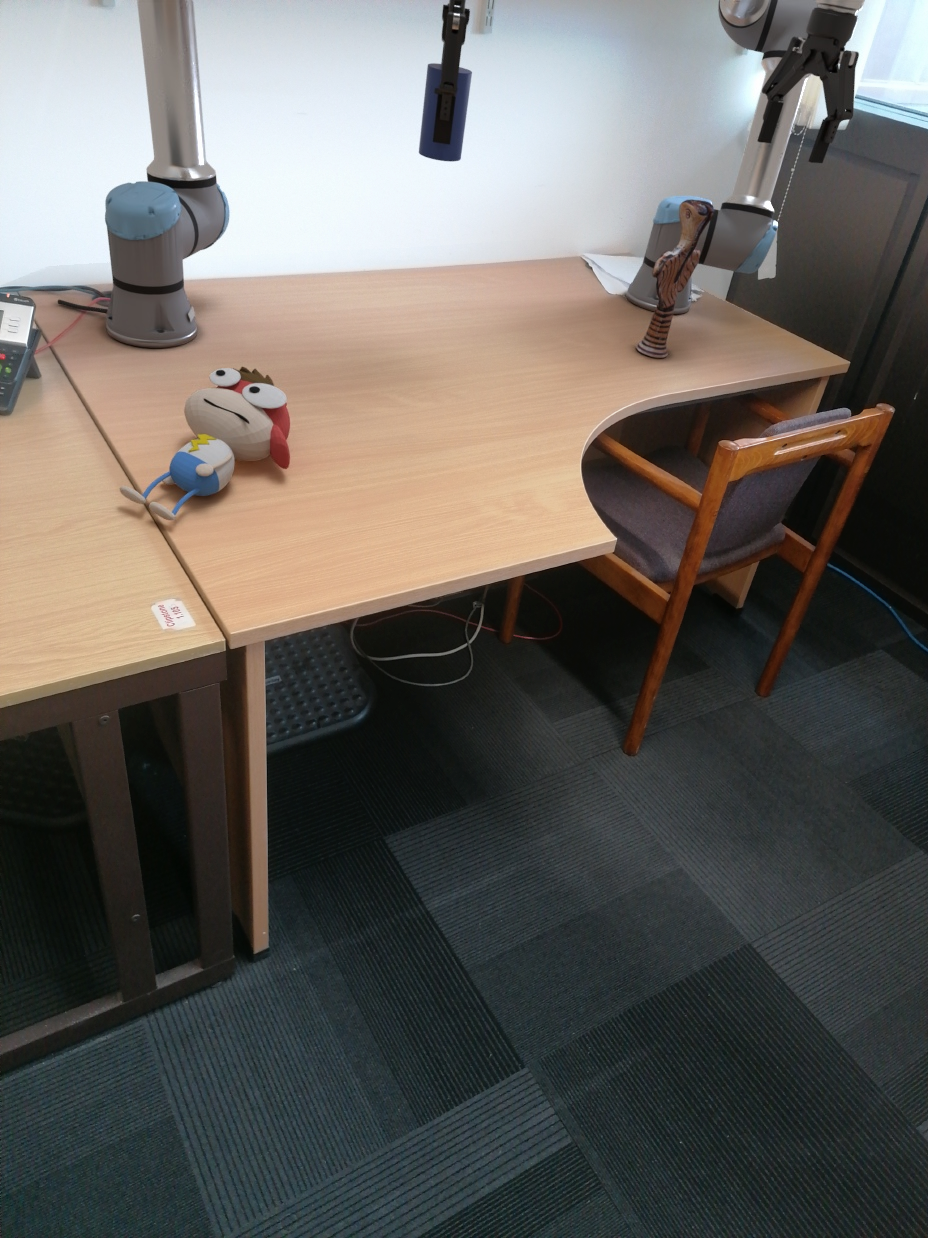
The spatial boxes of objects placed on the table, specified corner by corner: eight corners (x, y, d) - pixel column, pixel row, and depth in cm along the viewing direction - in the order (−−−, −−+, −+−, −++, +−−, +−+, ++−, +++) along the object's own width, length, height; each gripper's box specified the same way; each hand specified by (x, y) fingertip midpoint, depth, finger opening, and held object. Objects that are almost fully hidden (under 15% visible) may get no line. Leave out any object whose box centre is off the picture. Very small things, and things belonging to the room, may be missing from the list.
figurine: (653, 337, 192) (695, 188, 173) (684, 349, 189) (731, 199, 170) (621, 353, 182) (662, 197, 163) (654, 366, 179) (700, 209, 160)
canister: (410, 151, 141) (418, 63, 133) (435, 148, 145) (444, 62, 138) (444, 162, 138) (455, 73, 131) (468, 158, 143) (480, 72, 135)
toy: (74, 438, 111) (231, 346, 131) (86, 500, 119) (233, 404, 138) (190, 502, 107) (335, 397, 127) (195, 561, 114) (330, 454, 134)
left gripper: (491, -34, 119) (466, 155, 133) (485, -41, 134) (463, 128, 148) (435, -44, 118) (416, 147, 132) (436, -50, 133) (419, 121, 147)
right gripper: (769, -5, 152) (728, 133, 165) (877, 19, 135) (822, 170, 148) (801, 0, 155) (759, 135, 168) (910, 24, 138) (854, 171, 152)
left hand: (441, 137), depth 140 cm, fingers closed on canister, 7 cm apart
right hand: (788, 151), depth 158 cm, fingers open, 13 cm apart
